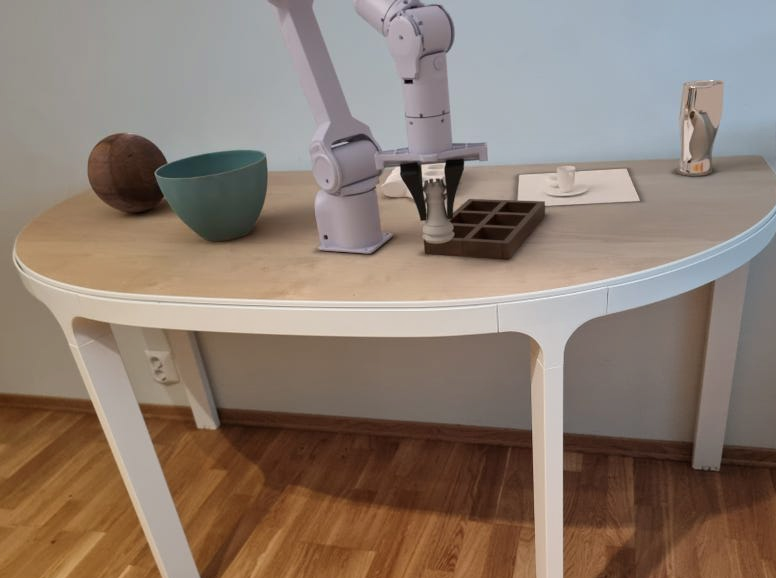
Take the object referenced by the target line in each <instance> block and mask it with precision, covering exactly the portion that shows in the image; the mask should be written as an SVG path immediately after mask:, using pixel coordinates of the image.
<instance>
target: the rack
mask: <svg viewBox="0 0 776 578" xmlns="http://www.w3.org/2000/svg"><path fill="white" fill-rule="evenodd" d="M545 216H546V206H545V201H519V200H518V199H517V200H516V199H515V200H514V199H513V200H512V199H486V198H485V199H483V198H468V199H467V200H466V201H465V202H464V203H463V204H461V205H460V206H459V207H458V208H457V209H455V211H453V219H450V221H449V222H450V223H451V224H453V227H454V228H453V230H452V231H453V232H454V236H453V238H452V239H451V240H450V241H447V242H444V243H436V244H434V243H428V242H426V241H425V240H424V239H423V246H424V248H423V249H424V254H426V255H438V256H439V255H441V256H453V257H454V256H456V257H467V258H468V257H469V258H482V259H495V260H497V259H498V260H510V259H511V257H513V255H514V254H515V253H516V252H517V250H518V249H519V248H520V247H521V245H522V244H524V242H525V241H526V239H527V238H528V237H529V236H530V235H531V234H532V232H533V231H534V230H535V229H536V227H537V226H538V225H539V223H540V222H541V221H542V220H543V219H544V218H545Z"/></svg>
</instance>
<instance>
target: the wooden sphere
mask: <svg viewBox="0 0 776 578" xmlns="http://www.w3.org/2000/svg"><path fill="white" fill-rule="evenodd" d="M168 163H169V162H168V160H167V158H166V156H165V155H164V153H163V152H162V150H161V149H160V148H159V146H157V144H155V143H154V142H152V141H151V140H150V139H148V138H146V137H144V136H142V135H140V134H137V133H131V132H118V133H117V132H116V133H114V134H110V135H108V136H106V137H104V138H102V139H100V140H99V141H98V142H97V143H96V145H94V147H93V148H92V149H91V151H90V153H89V156H88V159H87V165H86V172H87V179H88V182H89V185H90V187H91V188H92V190H93V192H94V193H95V195H96V196H97V197H98V198H99V199H100V200H101V201H102V202H103V203H105V204H106V205H108V206H109V207H110V208H112V209H115V210H117V211H120V212H124V213H140V212H145V211H148V210H150V209H152V208H154V207H155V206H157V205H158V204H159V203H160V202H161V201H162V200H163V199H164V198H165V197H164V195H163V193H162V191H161V189H160V187H159V185H158V182H157V180H156V177H155V171H156V170H157V169H158V168H160V167H161V166H163V165H166V164H168Z"/></svg>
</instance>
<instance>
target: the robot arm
mask: <svg viewBox="0 0 776 578" xmlns="http://www.w3.org/2000/svg"><path fill="white" fill-rule="evenodd" d="M266 1H267V2H268V3H270V5H271V8H272V11H273V14H274V17H275V19H276V23H277V25H278V27H279V31H280V32H281V35H282V38H283V40H284V43H285V46H286V48H287V51H288V54H289V56H290V59H291V62H292V64H293V68H294V69H295V73H296V75H297V78H298V80H299V83H300V85H301V88H302V91H303V94H304V96H305V99H306V101H307V105H308V107H309V109H310V112H311V114H312V118H313V120H314V123H315V125H316V128H317V130H316V131H315V133H314V135H313V137H312V139H311V141H310V142H309V144H308V146H307V150H308V153H309V156H310V160H311V168H312V174H313V176H314V179H315V181H316V183H317V185H318V186H319V187H320V188H321V189H319V191H318V192H317V194H316V196H315V199H314V214H315V220H316V221H315V222H316V226H317V233H318V239H319V243H320V245H319V246H318V248H317V249H318V251H326V252H341V253H351V254H353V253H354V254H367V255H368V254H372V253H374V252H376V250H378V249H379V248H380V247H381V246H383V245H384V244H385V243H386V242H388V241H389V240H390V239H392V238H393V237H394V233H392V232H383V229H382V222H381V214H380V207H379V199H378V191H377V185H379V184H380V177H381V176H382V175H383V174H384V171H385V169H388V168H396V167H400V176H401V178H402V180H403V182H404V183H405V185H406V186H407V188H408V189H409V191H410V193H411V195H412V197H413V199H414V200H413V199H412V200H413V202H414V204H415V206H416V210H417V212H418V215H419V220H420V222H425V221H426V218H427V204H426V202H425V199H424V193H423V190H422V189H423V182H422V166H421V165H427V164H439V163H445V168H444V172H445V181H446V191H447V193H446V213H447V218H448V219H453V212H454V206H455V199H456V195H457V190H458V187H459V184H460V183H461V182H460V181H461V178H462V176H463V174H464V173H463V172H464V171H465V170H464V169H465V162H475V161H479V162H488V160H489V158H488V157H489V156H488V155H489V154H488V142H453V131H452V119H451V105H450V103H451V102H450V91H449V77H448V75H449V74H448V64H447V63H448V61H447V54H448V53H449V52H450V51H451V49H452V47H453V45H454V43H455V35H456V30H455V29H456V28H455V24H454V21H453V18H452V16H451V14H450V12H448V10H447V9H446V8H445V7H444V5H443V4H441V3H439V2H438V3H437V2H435V3H429V4H426V2H422V1H421V0H353V7H354V11H355V12H356V14H357V15H358V16H359V17H360V18H361V19H363V20H364V21H365V22H366V23H367V24H369V25H370V26H371V27H372V28H373V29H375V30H376V31H377V32H378V33H379V34H380V35H382V36H383V37H384V38H385V41H386V46H387V48H388V52H389V53H390V55H391V56H392V59H393V60H394V63H395V69H396V74H397V75H398V78H400V80H401V89H402V98H403V107H404V120H405V126H406V127H405V128H406V139H407V146H406V147H401V148H394V149H388V150H383V149H382V147H381V145H380V144H379V143H378V141H377V140H376V139H375V137H374V136H373V133H372V131H371V127H370V126H369V125H367V124H366V123H364V122H363V121H361V120H358V119H357V118H355V117H354V116H353V115H352V113H351V110H350V108H349V105H348V102H347V99H346V97H345V93H344V91H343V88H342V85H341V82H340V80H339V77H338V74H337V72H336V69H335V66H334V63H333V61H332V57H331V56H330V52H329V50H328V47H327V45H326V42H325V39H324V36H323V33H322V31H321V28H320V25H319V23H318V20H317V18H316V14H315V12H314V9H313V4H314V1H315V0H266ZM462 173H463V174H462Z"/></svg>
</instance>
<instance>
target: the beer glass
mask: <svg viewBox="0 0 776 578" xmlns="http://www.w3.org/2000/svg"><path fill="white" fill-rule="evenodd" d="M724 84H725V83H724V81H722V80H717V79H700V80H691V81H686V82H684V83H682V84H681V85H682V86H681V92H680V99H679V105H678V106H679V107H678V132H679V140H680V153H679V155H680V156H679V160H678V164H677V168H676V174H679V175H681V176H686V177H701V176H707V175H711V174H712V173H713V171H714V167H713V150H714V146H715V141H716V137H717V134H718V130H719V128H720V123H721V119H722V113H723V105H724Z"/></svg>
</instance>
